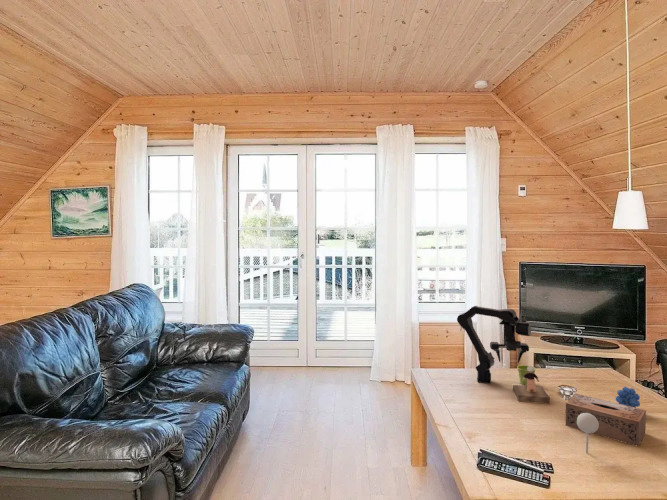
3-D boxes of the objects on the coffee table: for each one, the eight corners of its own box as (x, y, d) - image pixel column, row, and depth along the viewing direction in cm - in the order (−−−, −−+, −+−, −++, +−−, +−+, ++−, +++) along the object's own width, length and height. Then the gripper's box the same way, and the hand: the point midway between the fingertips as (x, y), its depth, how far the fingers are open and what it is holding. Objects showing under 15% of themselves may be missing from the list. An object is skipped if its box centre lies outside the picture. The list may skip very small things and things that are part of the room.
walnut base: (518, 401, 209) (518, 395, 208) (512, 390, 222) (512, 384, 222) (549, 403, 206) (549, 397, 205) (541, 392, 219) (541, 386, 219)
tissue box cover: (645, 434, 175) (646, 410, 175) (638, 447, 165) (639, 421, 164) (575, 415, 193) (576, 393, 193) (565, 425, 183) (565, 403, 182)
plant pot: (512, 382, 234) (513, 366, 234) (525, 379, 238) (525, 364, 238) (527, 387, 226) (527, 371, 225) (539, 385, 230) (539, 369, 229)
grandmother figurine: (535, 389, 216) (536, 364, 215) (539, 392, 212) (540, 367, 211) (520, 389, 216) (521, 364, 215) (524, 392, 212) (524, 367, 211)
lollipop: (578, 446, 166) (578, 408, 165) (599, 451, 161) (600, 412, 160) (574, 453, 160) (575, 414, 159) (596, 459, 156) (597, 419, 155)
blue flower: (623, 417, 190) (623, 390, 189) (611, 410, 197) (612, 385, 196) (647, 415, 191) (647, 389, 191) (634, 409, 198) (635, 384, 197)
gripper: (492, 336, 221) (492, 366, 222) (531, 337, 217) (531, 368, 218) (489, 331, 232) (489, 359, 233) (526, 332, 228) (526, 361, 229)
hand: (508, 362), depth 228 cm, fingers open, 9 cm apart
